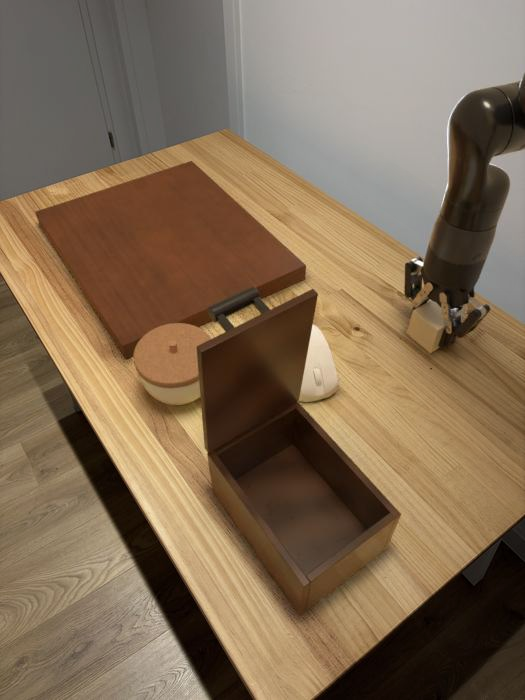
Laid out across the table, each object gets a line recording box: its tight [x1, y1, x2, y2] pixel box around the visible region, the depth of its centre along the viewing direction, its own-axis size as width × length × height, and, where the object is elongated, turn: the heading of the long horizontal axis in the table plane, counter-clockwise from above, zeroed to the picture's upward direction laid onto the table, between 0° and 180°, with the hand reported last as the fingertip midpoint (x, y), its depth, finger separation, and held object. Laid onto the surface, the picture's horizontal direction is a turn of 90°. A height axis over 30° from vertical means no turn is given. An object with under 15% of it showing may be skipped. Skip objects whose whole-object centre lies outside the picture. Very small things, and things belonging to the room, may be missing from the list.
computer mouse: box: [298, 324, 339, 403], centre depth 78 cm, size 6×13×6 cm, turn 16°
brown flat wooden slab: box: [34, 160, 307, 360], centre depth 98 cm, size 40×3×33 cm
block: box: [406, 299, 454, 354], centre depth 83 cm, size 5×5×5 cm
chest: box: [206, 401, 402, 616], centre depth 62 cm, size 18×13×9 cm
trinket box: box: [132, 323, 212, 406], centre depth 75 cm, size 11×11×9 cm
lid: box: [196, 286, 319, 453], centre depth 57 cm, size 18×13×5 cm
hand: (430, 333), depth 84 cm, fingers closed on block, 5 cm apart
